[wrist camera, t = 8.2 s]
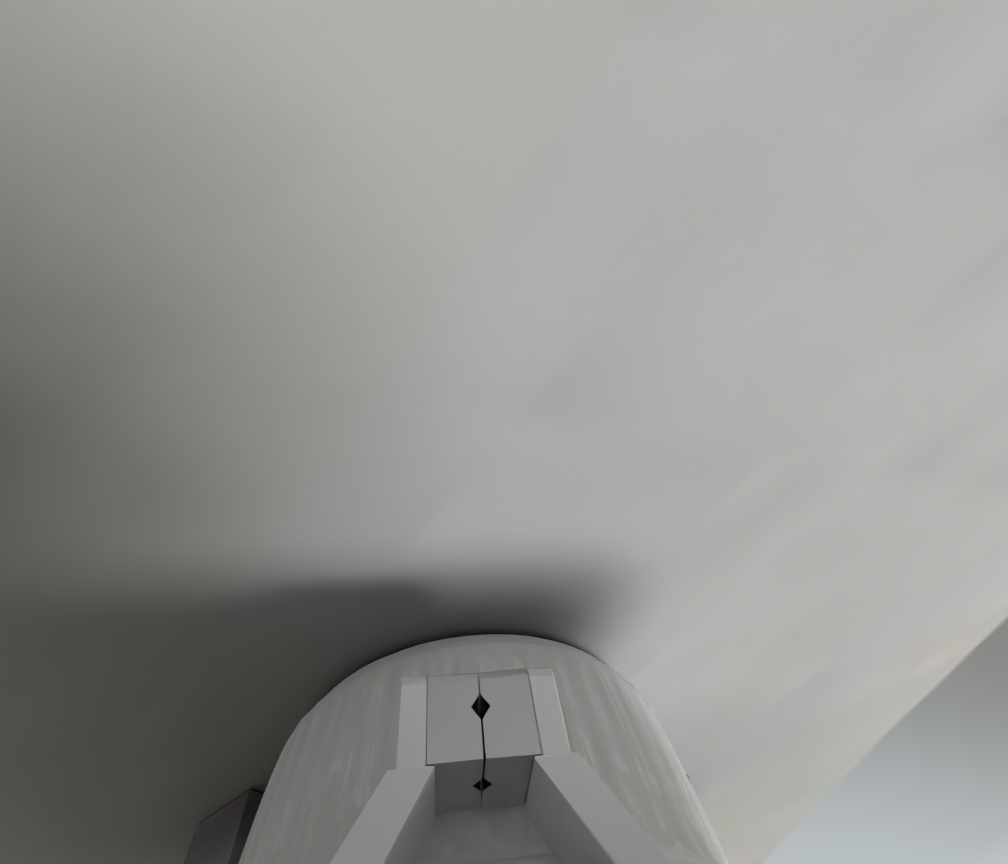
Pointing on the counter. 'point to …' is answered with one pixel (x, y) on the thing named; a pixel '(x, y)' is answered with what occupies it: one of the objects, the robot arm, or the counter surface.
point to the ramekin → (484, 831)
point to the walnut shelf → (225, 832)
